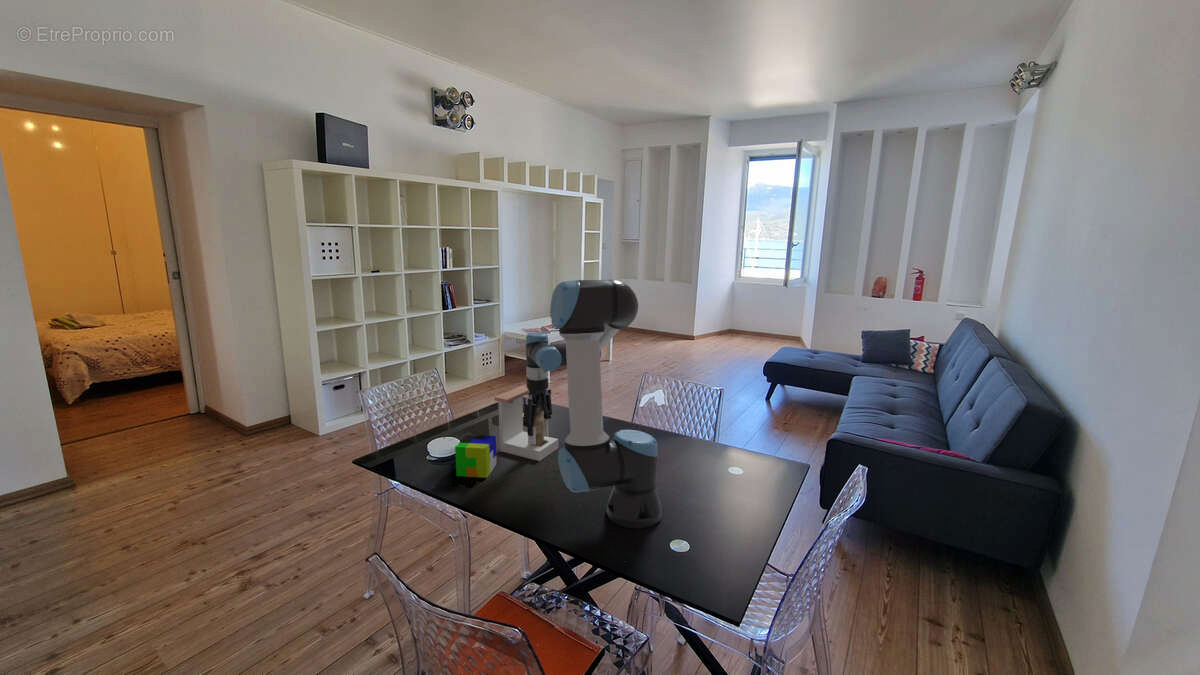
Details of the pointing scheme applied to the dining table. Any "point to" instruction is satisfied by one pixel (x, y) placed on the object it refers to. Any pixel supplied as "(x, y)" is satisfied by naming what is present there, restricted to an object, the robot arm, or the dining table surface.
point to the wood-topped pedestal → (511, 412)
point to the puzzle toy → (476, 456)
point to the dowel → (539, 428)
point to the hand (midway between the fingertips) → (538, 439)
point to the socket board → (529, 447)
